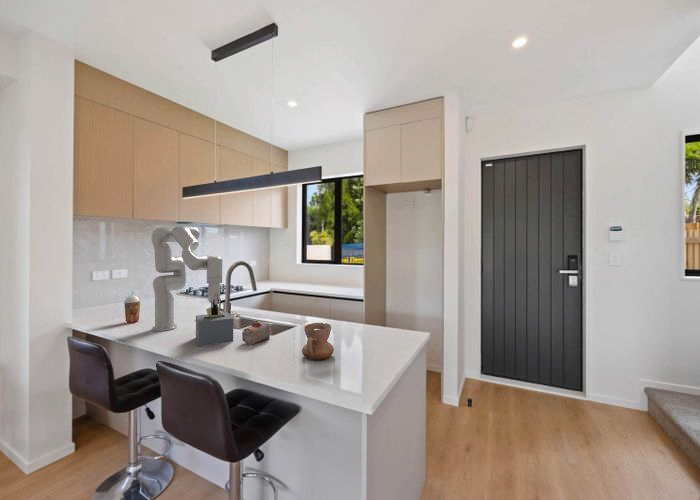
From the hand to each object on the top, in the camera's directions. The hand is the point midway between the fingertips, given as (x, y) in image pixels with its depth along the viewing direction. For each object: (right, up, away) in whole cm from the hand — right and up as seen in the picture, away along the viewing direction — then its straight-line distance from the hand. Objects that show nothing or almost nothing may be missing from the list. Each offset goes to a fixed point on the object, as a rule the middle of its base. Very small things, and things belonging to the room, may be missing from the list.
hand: (214, 314), depth 159 cm
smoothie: (-66, -12, +31) cm, 74 cm away
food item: (+23, -14, -2) cm, 27 cm away
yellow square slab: (-3, 0, -2) cm, 3 cm away
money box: (0, -13, 0) cm, 13 cm away
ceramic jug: (+57, -15, -22) cm, 63 cm away
